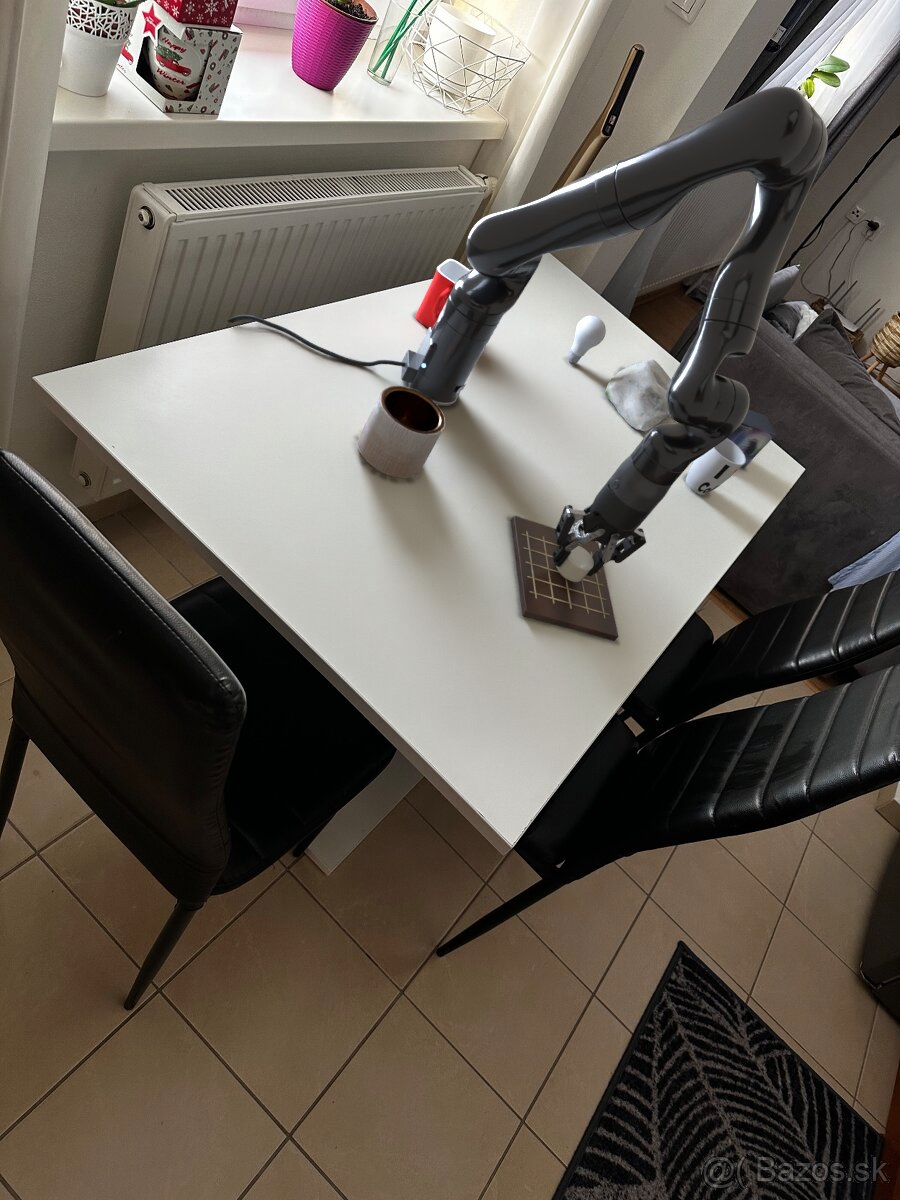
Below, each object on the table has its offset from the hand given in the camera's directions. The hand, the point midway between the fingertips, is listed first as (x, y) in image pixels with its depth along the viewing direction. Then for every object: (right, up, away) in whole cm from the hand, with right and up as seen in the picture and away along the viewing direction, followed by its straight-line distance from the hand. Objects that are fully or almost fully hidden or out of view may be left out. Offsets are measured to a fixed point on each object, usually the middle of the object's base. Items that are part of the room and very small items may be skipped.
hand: (571, 566), depth 132 cm
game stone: (0, 0, 0) cm, 1 cm away
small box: (+40, +26, +53) cm, 72 cm away
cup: (+30, +18, +40) cm, 53 cm away
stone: (+22, +39, +53) cm, 69 cm away
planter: (-28, +17, +3) cm, 33 cm away
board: (-1, -2, +2) cm, 3 cm away
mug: (-22, +48, +34) cm, 62 cm away
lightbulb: (+7, +45, +49) cm, 67 cm away
